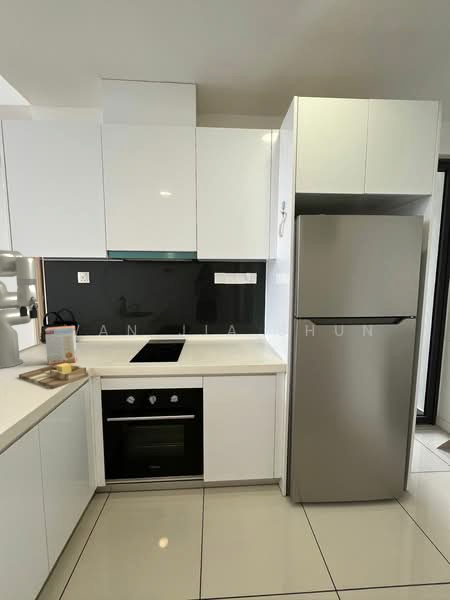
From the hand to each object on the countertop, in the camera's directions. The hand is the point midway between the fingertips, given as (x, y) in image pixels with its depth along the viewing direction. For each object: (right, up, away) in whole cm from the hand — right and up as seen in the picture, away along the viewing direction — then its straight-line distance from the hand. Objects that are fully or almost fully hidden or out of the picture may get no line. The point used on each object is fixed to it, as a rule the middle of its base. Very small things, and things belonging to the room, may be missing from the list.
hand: (28, 317), depth 132 cm
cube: (+17, -28, +1) cm, 33 cm away
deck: (+12, -30, +1) cm, 32 cm away
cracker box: (+3, -28, +23) cm, 37 cm away
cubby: (+20, -28, -1) cm, 35 cm away
